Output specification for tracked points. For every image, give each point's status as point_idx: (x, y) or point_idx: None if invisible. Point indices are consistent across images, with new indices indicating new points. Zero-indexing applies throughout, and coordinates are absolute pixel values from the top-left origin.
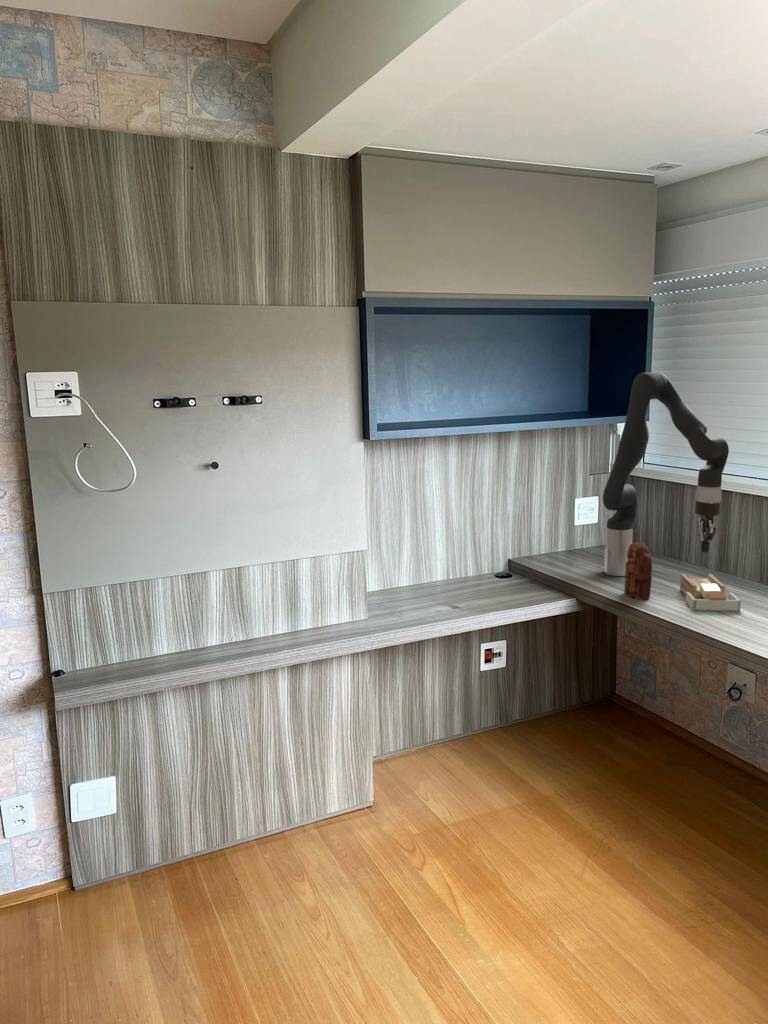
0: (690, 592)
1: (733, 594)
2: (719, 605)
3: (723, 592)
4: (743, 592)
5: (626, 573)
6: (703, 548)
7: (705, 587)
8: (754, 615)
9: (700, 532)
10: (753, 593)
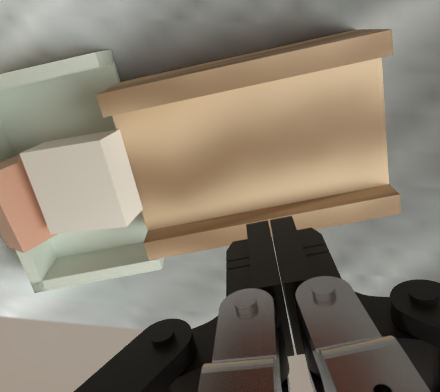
0: (148, 78)
1: (131, 274)
2: None
3: (16, 243)
4: None
5: None
6: (233, 255)
7: (61, 163)
8: (26, 305)
9: (317, 351)
10: None
